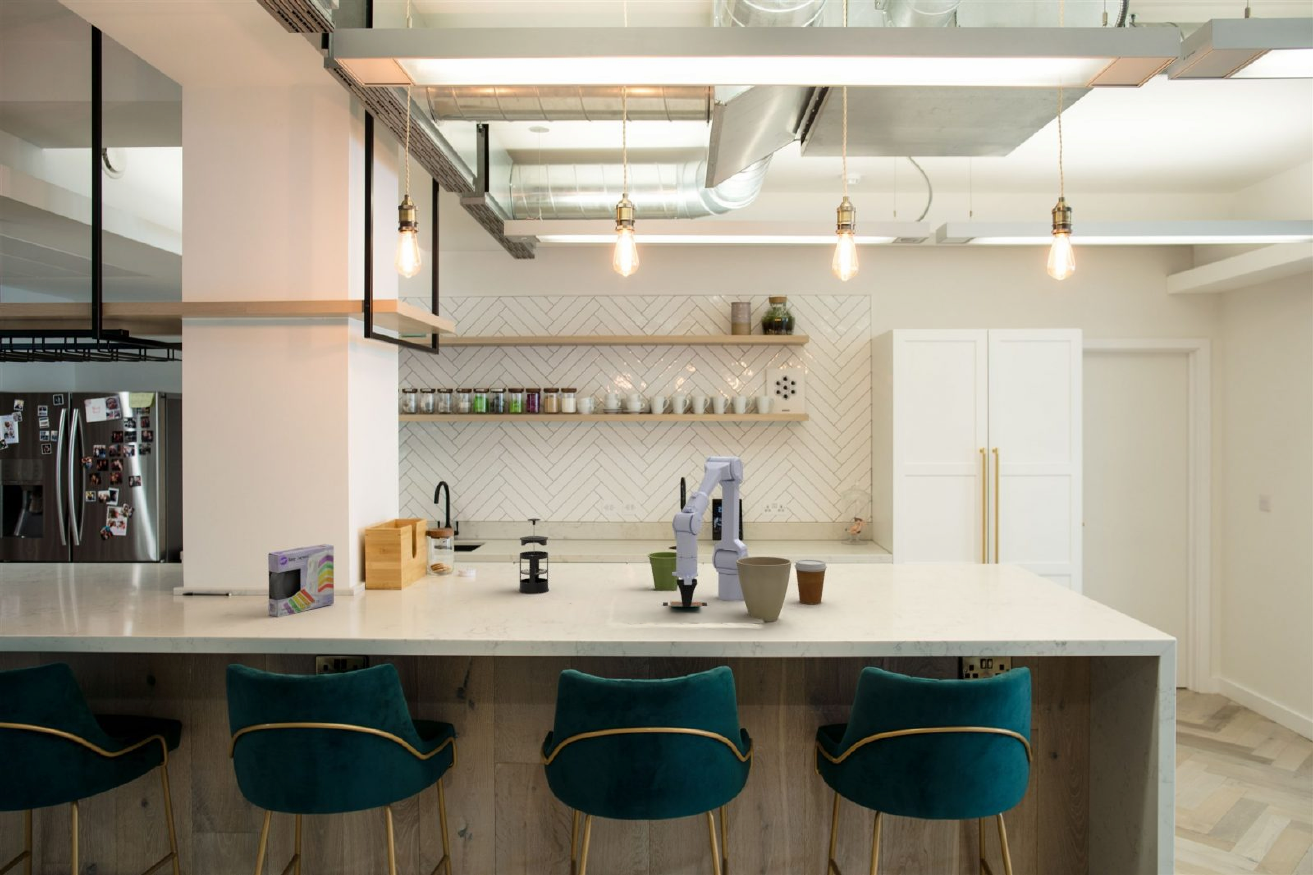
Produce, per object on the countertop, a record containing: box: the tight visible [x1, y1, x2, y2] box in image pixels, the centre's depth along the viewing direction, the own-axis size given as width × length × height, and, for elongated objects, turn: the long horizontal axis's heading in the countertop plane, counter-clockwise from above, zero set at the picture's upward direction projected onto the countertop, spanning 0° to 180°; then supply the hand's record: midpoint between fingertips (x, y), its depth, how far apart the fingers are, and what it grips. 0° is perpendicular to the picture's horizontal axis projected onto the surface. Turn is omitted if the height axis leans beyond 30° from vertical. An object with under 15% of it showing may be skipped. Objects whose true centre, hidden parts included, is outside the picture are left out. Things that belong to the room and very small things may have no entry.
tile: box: [669, 600, 702, 608], centre depth 227 cm, size 9×1×9 cm
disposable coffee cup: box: [794, 559, 828, 605], centre depth 241 cm, size 10×10×12 cm
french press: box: [518, 517, 550, 595], centre depth 257 cm, size 12×9×23 cm
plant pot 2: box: [736, 556, 792, 623], centre depth 220 cm, size 15×15×16 cm
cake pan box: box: [267, 543, 335, 618], centre depth 228 cm, size 19×5×18 cm, turn 149°
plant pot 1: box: [647, 551, 680, 592], centre depth 259 cm, size 12×12×11 cm
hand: (686, 606), depth 220 cm, fingers closed
